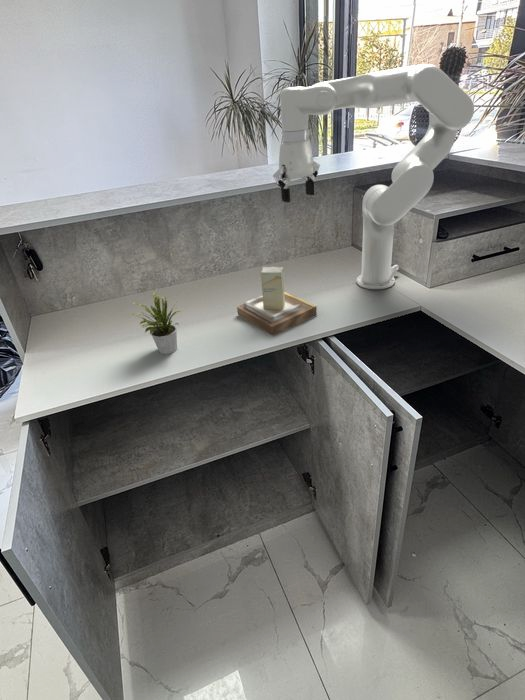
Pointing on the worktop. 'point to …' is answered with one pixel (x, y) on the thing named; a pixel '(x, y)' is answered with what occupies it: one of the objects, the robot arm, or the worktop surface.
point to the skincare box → (273, 288)
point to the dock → (277, 314)
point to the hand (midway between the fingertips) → (298, 198)
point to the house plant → (161, 326)
